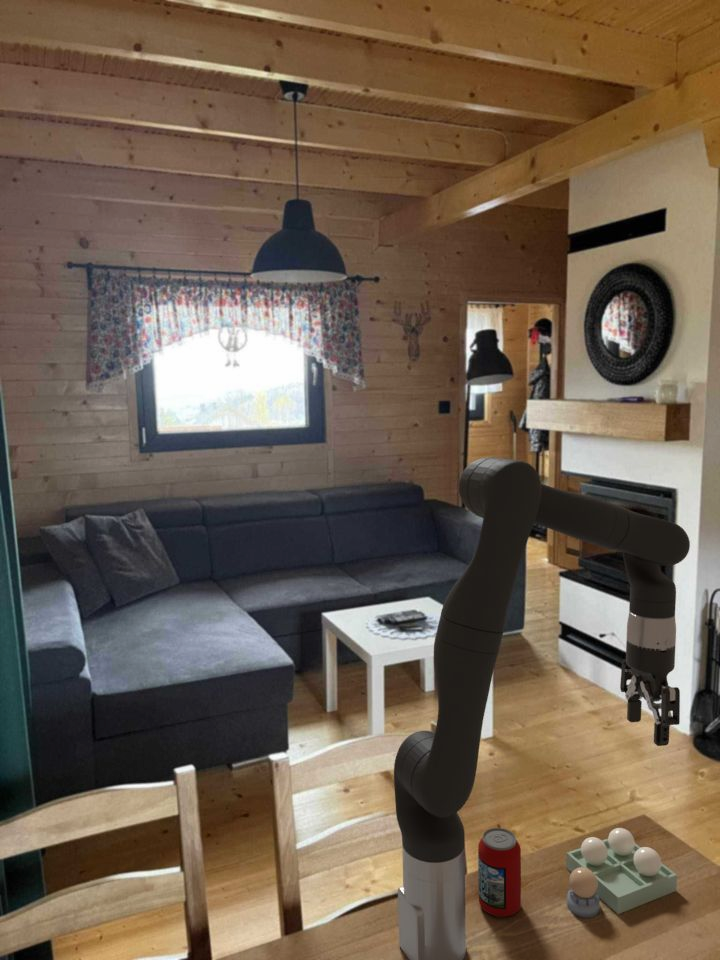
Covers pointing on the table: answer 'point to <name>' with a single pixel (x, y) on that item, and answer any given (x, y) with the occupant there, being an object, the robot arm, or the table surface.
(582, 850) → the white egg
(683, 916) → the table surface
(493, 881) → the beverage can
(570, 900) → the egg cup
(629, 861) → the egg carton
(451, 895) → the robot arm
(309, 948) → the table surface
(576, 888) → the brown egg
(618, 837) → the white egg
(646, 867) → the white egg
